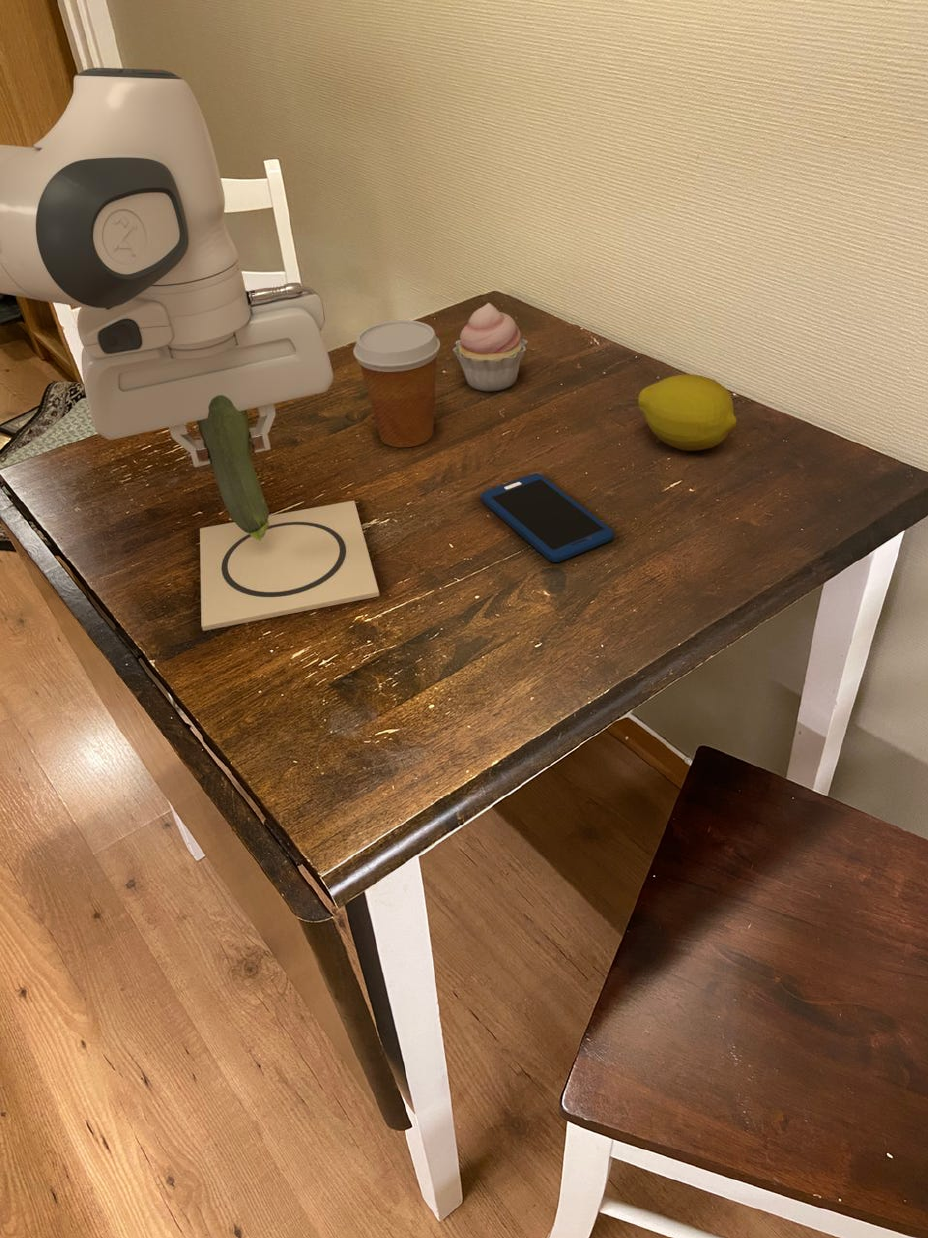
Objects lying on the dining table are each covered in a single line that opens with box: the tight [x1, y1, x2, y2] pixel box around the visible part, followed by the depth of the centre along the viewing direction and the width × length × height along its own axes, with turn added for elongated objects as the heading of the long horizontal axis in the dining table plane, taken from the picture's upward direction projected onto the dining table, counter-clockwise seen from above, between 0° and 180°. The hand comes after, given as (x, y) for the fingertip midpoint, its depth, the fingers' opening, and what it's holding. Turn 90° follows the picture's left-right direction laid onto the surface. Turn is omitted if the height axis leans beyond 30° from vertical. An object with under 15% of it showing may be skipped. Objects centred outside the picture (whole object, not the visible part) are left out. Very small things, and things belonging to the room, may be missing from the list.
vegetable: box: [196, 395, 270, 541], centre depth 78 cm, size 4×4×20 cm
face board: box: [199, 500, 380, 632], centre depth 85 cm, size 16×16×1 cm
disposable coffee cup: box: [352, 319, 441, 448], centre depth 100 cm, size 10×10×12 cm
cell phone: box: [480, 473, 615, 563], centre depth 88 cm, size 7×14×1 cm, turn 30°
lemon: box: [637, 374, 738, 452], centre depth 95 cm, size 11×8×8 cm
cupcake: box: [452, 302, 529, 392], centre depth 109 cm, size 9×9×10 cm
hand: (231, 455), depth 79 cm, fingers closed on vegetable, 4 cm apart
